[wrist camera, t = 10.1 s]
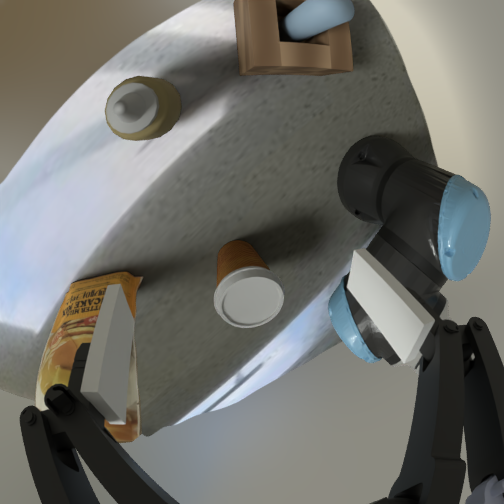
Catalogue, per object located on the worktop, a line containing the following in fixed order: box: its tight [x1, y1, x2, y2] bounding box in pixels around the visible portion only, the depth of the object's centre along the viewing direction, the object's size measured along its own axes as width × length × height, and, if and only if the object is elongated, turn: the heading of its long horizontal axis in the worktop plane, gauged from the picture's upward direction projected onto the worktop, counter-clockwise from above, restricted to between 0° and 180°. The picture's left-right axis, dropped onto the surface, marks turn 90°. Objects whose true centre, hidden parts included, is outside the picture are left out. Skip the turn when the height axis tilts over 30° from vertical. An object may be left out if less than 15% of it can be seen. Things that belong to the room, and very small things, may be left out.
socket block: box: [233, 0, 353, 76], centre depth 25 cm, size 12×12×9 cm
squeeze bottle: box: [105, 76, 182, 141], centre depth 24 cm, size 8×8×18 cm
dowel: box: [278, 0, 354, 43], centre depth 22 cm, size 4×4×14 cm
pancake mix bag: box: [35, 272, 143, 443], centre depth 31 cm, size 7×19×28 cm, turn 97°
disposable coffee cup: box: [214, 240, 285, 328], centre depth 40 cm, size 10×10×12 cm
